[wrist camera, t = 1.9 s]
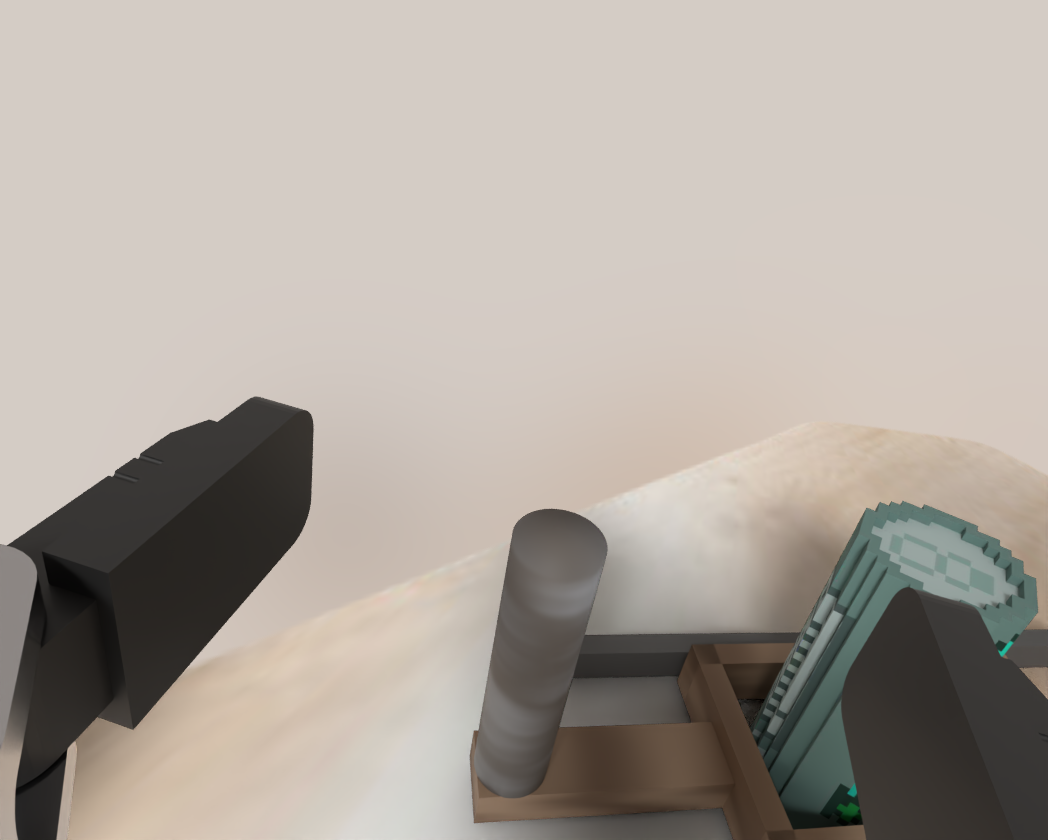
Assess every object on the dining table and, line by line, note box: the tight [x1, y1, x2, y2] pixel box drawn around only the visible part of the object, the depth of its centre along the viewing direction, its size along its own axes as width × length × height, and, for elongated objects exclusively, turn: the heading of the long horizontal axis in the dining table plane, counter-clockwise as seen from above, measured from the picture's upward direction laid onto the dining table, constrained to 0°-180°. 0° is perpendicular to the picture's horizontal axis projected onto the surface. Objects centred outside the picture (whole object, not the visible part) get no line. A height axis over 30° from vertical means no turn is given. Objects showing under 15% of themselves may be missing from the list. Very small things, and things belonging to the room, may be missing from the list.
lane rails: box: [573, 630, 1048, 678], centre depth 34 cm, size 32×14×2 cm, turn 97°
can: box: [750, 501, 1038, 830], centre depth 30 cm, size 6×6×15 cm
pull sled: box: [470, 509, 1008, 840], centre depth 29 cm, size 30×10×15 cm, turn 97°
